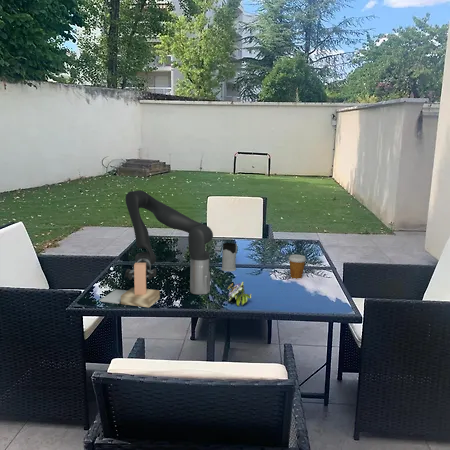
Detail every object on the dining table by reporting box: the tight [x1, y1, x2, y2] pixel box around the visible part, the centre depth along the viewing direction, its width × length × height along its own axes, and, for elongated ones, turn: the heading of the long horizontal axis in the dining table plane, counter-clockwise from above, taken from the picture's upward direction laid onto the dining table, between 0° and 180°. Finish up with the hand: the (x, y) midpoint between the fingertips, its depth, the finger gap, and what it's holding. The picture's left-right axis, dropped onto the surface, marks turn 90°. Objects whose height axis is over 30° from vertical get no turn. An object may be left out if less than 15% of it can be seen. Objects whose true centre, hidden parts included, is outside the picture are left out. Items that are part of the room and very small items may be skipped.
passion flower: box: [226, 281, 252, 307], centre depth 212 cm, size 11×11×12 cm
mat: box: [98, 288, 128, 305], centre depth 216 cm, size 10×16×1 cm, turn 165°
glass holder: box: [221, 242, 238, 272], centre depth 266 cm, size 9×14×15 cm, turn 152°
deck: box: [120, 287, 161, 308], centre depth 210 cm, size 14×12×4 cm
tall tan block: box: [133, 262, 147, 295], centre depth 209 cm, size 5×4×14 cm
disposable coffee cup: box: [288, 254, 307, 279], centre depth 251 cm, size 10×10×12 cm
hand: (139, 277), depth 207 cm, fingers open, 8 cm apart
